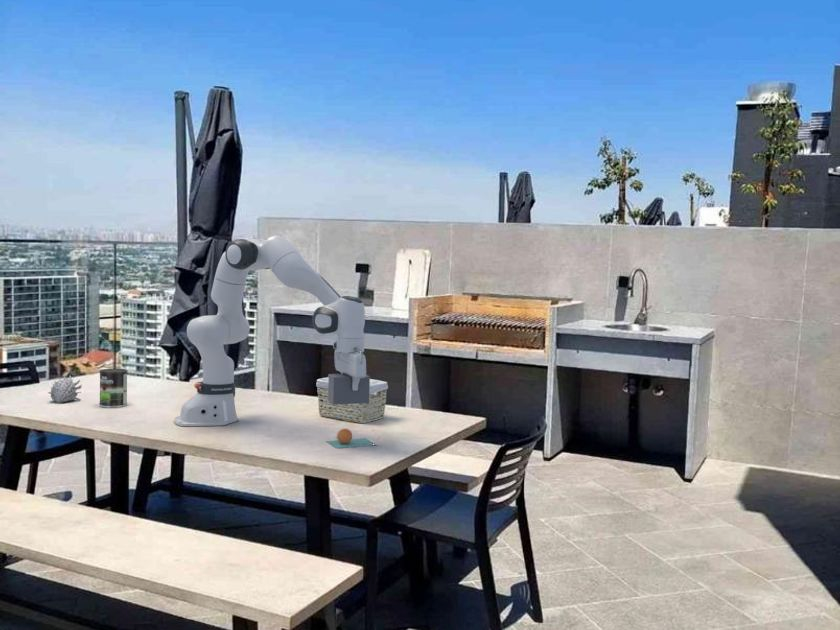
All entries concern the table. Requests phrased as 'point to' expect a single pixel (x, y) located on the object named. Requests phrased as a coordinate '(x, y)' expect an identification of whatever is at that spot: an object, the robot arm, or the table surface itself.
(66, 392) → the sea urchin
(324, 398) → the storage basket
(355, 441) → the teal flat pad
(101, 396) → the coffee can
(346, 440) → the ball
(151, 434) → the table surface
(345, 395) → the slate gray brick
